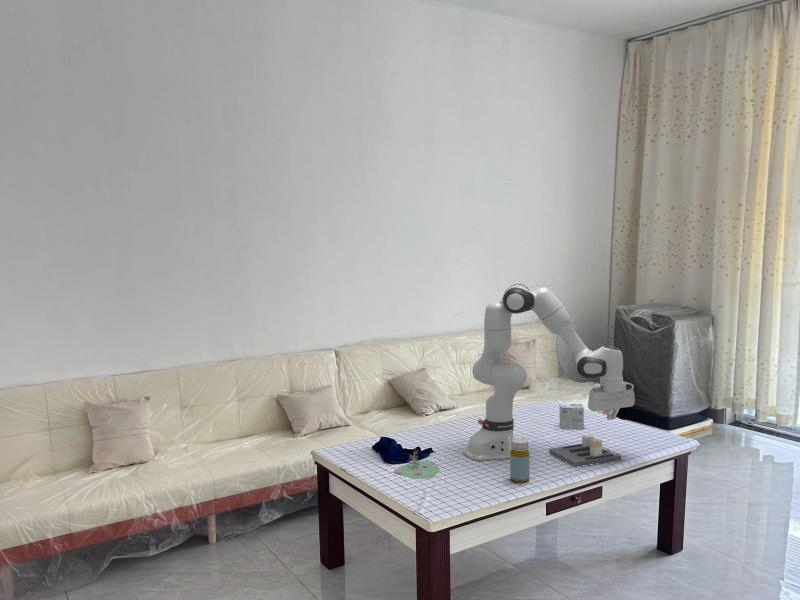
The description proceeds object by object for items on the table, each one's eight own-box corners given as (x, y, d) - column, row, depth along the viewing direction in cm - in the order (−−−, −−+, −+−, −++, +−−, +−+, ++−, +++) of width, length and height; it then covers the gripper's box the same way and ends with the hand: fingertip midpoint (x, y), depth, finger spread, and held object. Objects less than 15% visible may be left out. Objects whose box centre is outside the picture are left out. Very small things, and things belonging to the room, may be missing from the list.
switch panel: (574, 467, 247) (574, 451, 247) (549, 453, 264) (549, 438, 264) (621, 460, 254) (621, 444, 254) (593, 446, 271) (593, 432, 271)
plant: (392, 488, 232) (391, 464, 231) (367, 471, 250) (366, 448, 249) (448, 474, 244) (448, 451, 243) (421, 459, 262) (420, 438, 261)
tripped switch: (594, 457, 252) (594, 446, 252) (589, 454, 255) (590, 444, 255) (602, 456, 254) (602, 445, 253) (597, 453, 256) (597, 443, 256)
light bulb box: (581, 425, 303) (581, 403, 302) (584, 429, 296) (584, 407, 295) (558, 425, 304) (558, 403, 303) (561, 429, 297) (561, 406, 296)
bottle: (506, 479, 236) (506, 440, 235) (517, 474, 241) (517, 436, 239) (522, 484, 231) (522, 444, 230) (533, 479, 236) (533, 440, 234)
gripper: (594, 390, 248) (594, 424, 249) (637, 384, 254) (636, 418, 256) (584, 386, 254) (584, 420, 255) (626, 381, 260) (626, 414, 262)
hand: (611, 419), depth 255 cm, fingers closed
